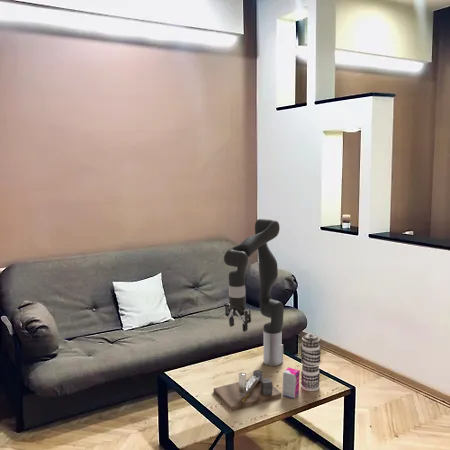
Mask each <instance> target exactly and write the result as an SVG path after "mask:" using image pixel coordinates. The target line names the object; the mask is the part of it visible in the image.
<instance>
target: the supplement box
mask: <svg viewBox="0 0 450 450" xmlns="http://www.w3.org/2000/svg"><path fill="white" fill-rule="evenodd" d="M300 371H301V370H300V369H295V368H292V367H287V368H286V369H285V370H284V371H282V372H283V373H282V397H285V398H289V399H295V398H296V397H297V396H298V395H299V394H300V376H301V375H300V373H301V372H300Z"/></svg>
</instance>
